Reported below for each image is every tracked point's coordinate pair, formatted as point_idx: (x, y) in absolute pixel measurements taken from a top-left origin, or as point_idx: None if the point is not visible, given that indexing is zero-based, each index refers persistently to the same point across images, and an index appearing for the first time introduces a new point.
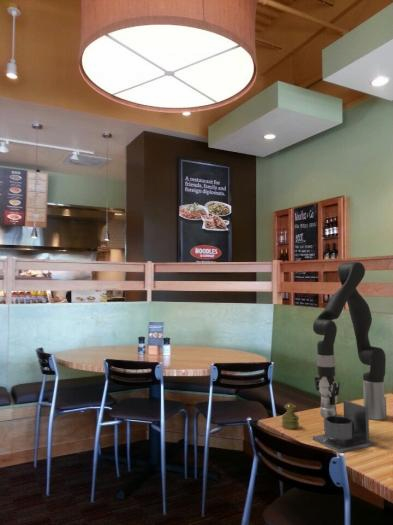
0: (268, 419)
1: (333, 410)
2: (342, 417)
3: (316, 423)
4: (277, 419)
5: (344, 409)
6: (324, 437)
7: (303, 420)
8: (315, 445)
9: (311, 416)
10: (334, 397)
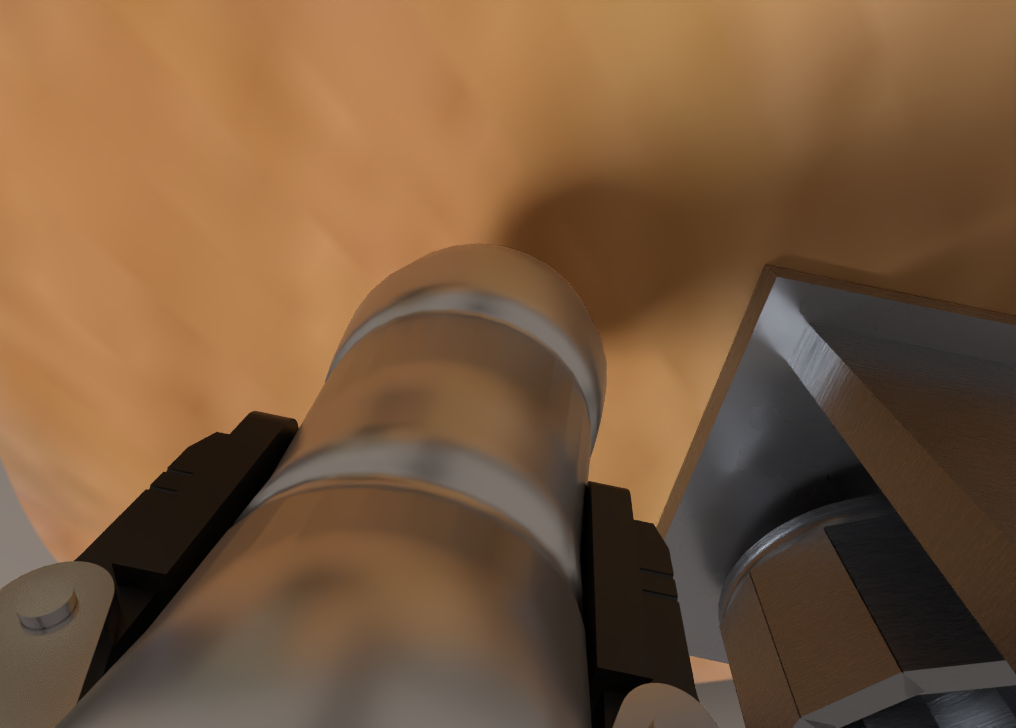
0: (47, 530)
1: (598, 421)
2: (971, 682)
3: (320, 278)
4: (66, 479)
5: (982, 599)
6: (709, 603)
7: (172, 313)
8: (707, 680)
9: (55, 95)
10: (686, 691)
